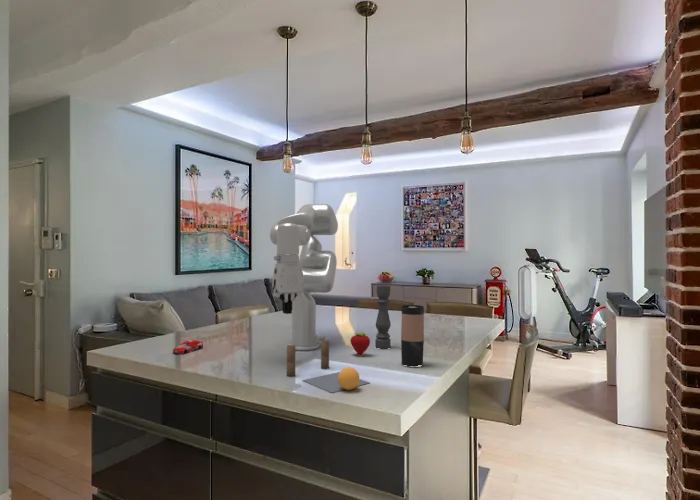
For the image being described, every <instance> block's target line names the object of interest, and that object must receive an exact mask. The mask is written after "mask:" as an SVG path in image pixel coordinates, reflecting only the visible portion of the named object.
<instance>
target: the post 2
mask: <svg viewBox="0 0 700 500" xmlns="http://www.w3.org/2000/svg"><path fill="white" fill-rule="evenodd" d="M320 345H321V346H320V369H322V370H328V369H330V340H328V339H325V340H321V341H320Z"/></svg>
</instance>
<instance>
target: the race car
mask: <svg viewBox="0 0 700 500" xmlns="http://www.w3.org/2000/svg"><path fill="white" fill-rule="evenodd" d="M203 348H204V342H203V341H200V340H197V339H196V340H194V339H189V340H185V341H182V343H179V345H178V346H175V347H174V348H172V354H175V355H176V354H177V355H186V354H190V353H192V352H195V351H199V350H202V349H203Z"/></svg>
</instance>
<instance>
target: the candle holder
mask: <svg viewBox="0 0 700 500" xmlns="http://www.w3.org/2000/svg"><path fill="white" fill-rule="evenodd" d="M376 296H377V298H378V299H377V300H376V303H378V312H377V317H376V321H375V327H376V329H377V333H376V335H375V339H374V340H375V341H374V342H375V343H374V344H375V347H376V348H380V349H379V350H389V349H388V348H390V349H391V342H392V341H391V335H390V333H389V330H390V328H391V320H390V314H389V304H390V300H389V298H390V296H391V285H384V284H382V285H380V284H379V285H376ZM376 348H375V349H376Z"/></svg>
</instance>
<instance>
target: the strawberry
mask: <svg viewBox="0 0 700 500" xmlns="http://www.w3.org/2000/svg"><path fill="white" fill-rule="evenodd" d="M370 343H371V339H370V337H369V336H368V334H367V333H365V332H361V333H360V332H354V333H353V335H352V336H351V337H350V345H351V347H352V348H353V350H354V351H355V352H356V353H357V355H358V356H360V355H361V356H362V355H364V353H365V352H366V351H367V349H368V348H369V346H370Z"/></svg>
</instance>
